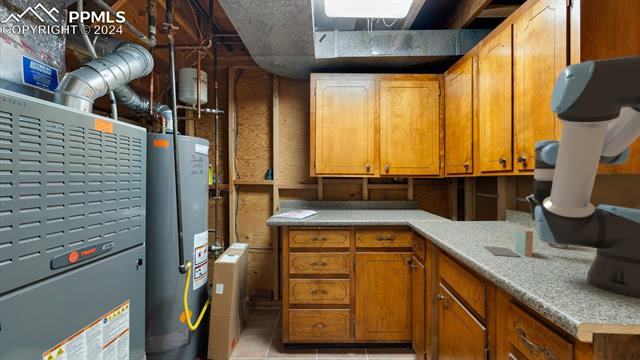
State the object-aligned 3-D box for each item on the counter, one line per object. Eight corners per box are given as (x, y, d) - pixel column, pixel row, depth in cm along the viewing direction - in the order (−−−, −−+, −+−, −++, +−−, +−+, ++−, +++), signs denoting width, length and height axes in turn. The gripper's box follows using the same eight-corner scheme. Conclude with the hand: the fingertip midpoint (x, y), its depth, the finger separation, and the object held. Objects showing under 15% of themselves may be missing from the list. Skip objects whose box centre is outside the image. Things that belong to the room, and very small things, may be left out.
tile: (532, 256, 106) (533, 231, 106) (525, 256, 107) (526, 231, 107) (521, 250, 114) (522, 227, 114) (515, 250, 115) (516, 226, 114)
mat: (521, 257, 106) (521, 256, 105) (495, 255, 107) (495, 254, 107) (507, 248, 117) (507, 247, 117) (483, 247, 119) (483, 246, 119)
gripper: (559, 179, 110) (556, 237, 111) (522, 179, 113) (520, 235, 114) (571, 180, 103) (569, 242, 104) (532, 180, 106) (529, 240, 107)
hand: (543, 238), depth 109 cm, fingers closed
